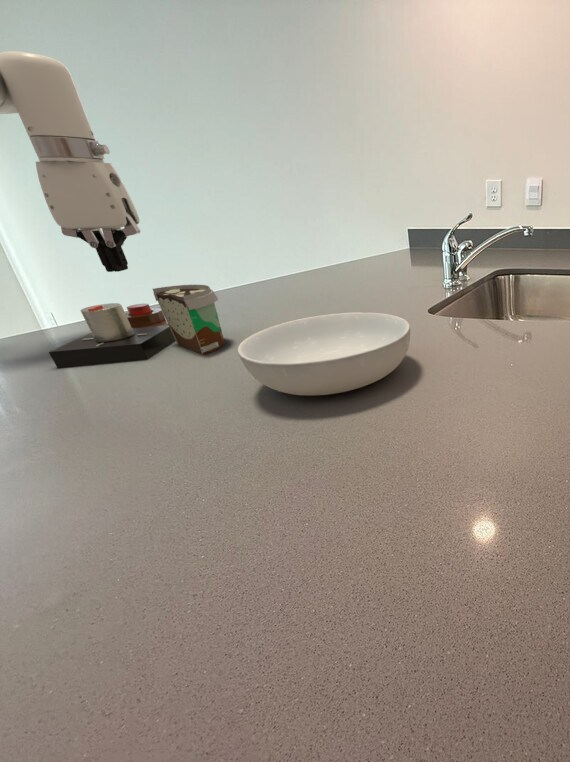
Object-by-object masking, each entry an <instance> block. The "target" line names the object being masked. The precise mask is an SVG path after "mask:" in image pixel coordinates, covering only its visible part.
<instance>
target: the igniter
mask: <svg viewBox="0 0 570 762" xmlns="http://www.w3.org/2000/svg"><path fill="white" fill-rule="evenodd" d="M151 311H152V312H151V313H148V314H143V315H136V316H130V314H129V312H128V311H127V312H125V314H126V316H127V318H128V320H129V323H130V325H131V327H132V328H143V327H155V326H167V325H168V323H167V320H166V318H165V316H164V314H163V312H162V309H161V308H156V307H155V308H154V307H153V308H151Z"/></svg>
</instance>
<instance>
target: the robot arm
mask: <svg viewBox="0 0 570 762" xmlns="http://www.w3.org/2000/svg"><path fill="white" fill-rule="evenodd" d="M10 114H11V115H12V114H18V115H19V118H20V120H21V122H22V124H23V127H24V129H25V131H26V134H27V136H28V137H29V140H30V143H31V145H32V147H33V149H34V151H35V152H34V153H35V154H36V156H37V158H38V161H35V166H36V173H37V177H38V181H39V186H40V188H41V191H42V194H43V197H44V200H45V203H46V205H47V207H48V209H49V213H50V214H51V216H52V218H53V220H54V222H55V224H57V226H59V227H60V230H61V233H62V235H63V236H66V237H71V238H76V239H77V238H78V239H81V240H82V241H84V242H85V243H87V244H88V245H89V246H90V248H93V249H95V251H96V254H97V255H98V258H99V261H100V263H101V264H102V266H103V267H104V268H105V271H106V272H107V273H113V272H114V273H118V272H122V271H126V270H128V269H129V266H128V259H127V257H126V254H125V252H124V249H123V248H122V247H123V246H124V245H125V241H126V239H128V237H132V236H135V235H139V234H140V233H141V229H140V228H139V226H138V225H139V224H140V217H139V214H138V212H137V209H136V207H135V204H134V202H133V200H132V198H131V196H130V194H129V192H128V189H127V188H126V185H125V184H124V182H123V180H122V179H121V177H120V175H119V173H118V172H117V170H116V168H115V166H113V164H112V163H111V162H105V155H110V149H109V146H107V145H106V144H100V143H99V140H97V138H96V136H95V133H94V131H93V128H92V125H91V123H90V121H89V118H88V115H87V112H86V110H85V107H84V105H83V102H82V99H81V97H80V94H79V91H78V89H77V86H76V83H75V81H74V79H73V76H72V74H71V71H70V70H69V69H68V68H67V66H66V65H65V64H64V63H63V62H61V61H59V60H58V59H56V58H53V57H50V56H47V55H44V54H39V53H33V52H26V51H16V50H7V51H1V52H0V115H10ZM123 227H124V228H123Z"/></svg>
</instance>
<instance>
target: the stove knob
mask: <svg viewBox="0 0 570 762" xmlns="http://www.w3.org/2000/svg"><path fill="white" fill-rule="evenodd" d="M80 313H81V315H82V317H83V319H84V321H85V323H86V325H87V327H88V329H89V331H90V333H92V335H93V337H94V339H95V341H97V342H109V341H116V340H120V339H124V338H128V337H130V336H132V335H134V331H133V329H132V327H131V325H130V323H129V320H128V318H127V316H126V314H125V313H126V312H125V309H124V307H123V305H122V303H118V302H113V303H112V302H111V303H101V304H95V305H91V306H86V307H83V308H81V309H80Z"/></svg>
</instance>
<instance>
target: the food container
mask: <svg viewBox="0 0 570 762" xmlns="http://www.w3.org/2000/svg"><path fill="white" fill-rule="evenodd" d="M152 291H153V292H152V293H153V296H154V299H155V301H156V302H157V304H158V305H159V308H160V309H161V310H162V312H163V315H164V316H165V318H166V320H167V323H168V325H169V327H170V329H171V332H172V334H173V336H174V338H175V340H176V341H175V343H176V344H177V345H176V346H180V347H182V348H185V349H187V350H190V351H193V352H196V353H198V354H200V355H202V356H206V355H208V354H211V353H214V352H216V351H218V350H220V349H221V348H223V347H225V345H226V342H225V339H224V335H223V331H222V327H221V326H222V325H221V323H220V319H219V316H218V312H217V308H216V305H215V303H216V302H217V301H218V300H219V298H218V296H217V295H216V293H215V291H214V290H213V289H211V287H210V286H209V285H207V284H178V285H170V286H169V285H168V286H161V287H156V288H155V287H154V288H152Z"/></svg>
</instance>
